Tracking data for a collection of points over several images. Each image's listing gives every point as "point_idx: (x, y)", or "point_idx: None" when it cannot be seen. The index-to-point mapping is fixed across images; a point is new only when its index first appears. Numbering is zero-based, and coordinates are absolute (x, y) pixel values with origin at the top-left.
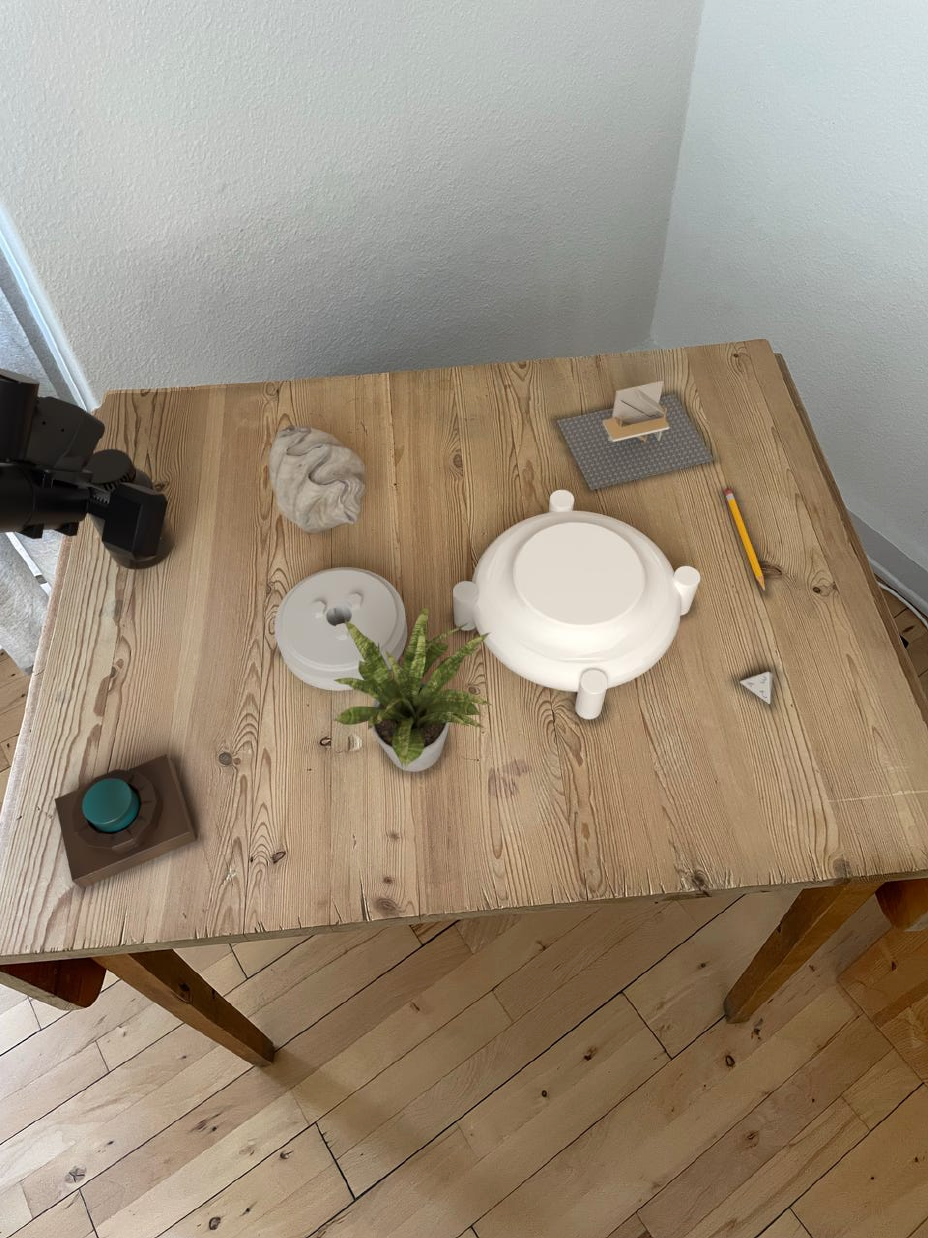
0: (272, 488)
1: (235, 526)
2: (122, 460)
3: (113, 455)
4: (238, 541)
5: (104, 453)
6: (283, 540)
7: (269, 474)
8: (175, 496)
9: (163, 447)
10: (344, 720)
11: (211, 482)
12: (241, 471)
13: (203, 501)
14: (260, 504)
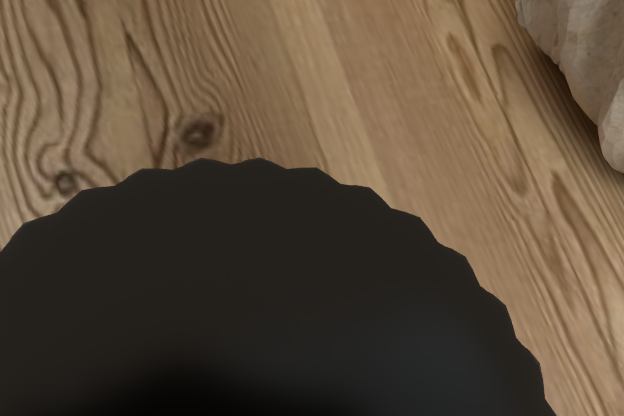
0: (615, 120)
1: (459, 227)
2: (409, 326)
3: (263, 269)
4: (490, 276)
5: (127, 254)
6: (600, 250)
7: (622, 78)
8: (256, 156)
9: (163, 10)
10: None
11: (334, 99)
12: (396, 57)
13: (339, 161)
14: (489, 148)
